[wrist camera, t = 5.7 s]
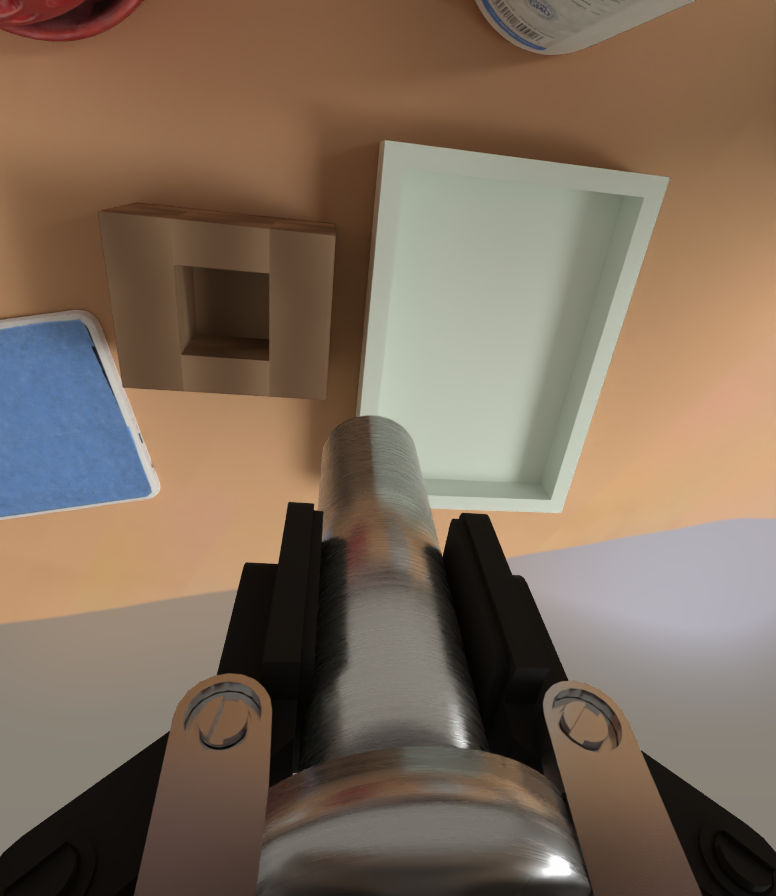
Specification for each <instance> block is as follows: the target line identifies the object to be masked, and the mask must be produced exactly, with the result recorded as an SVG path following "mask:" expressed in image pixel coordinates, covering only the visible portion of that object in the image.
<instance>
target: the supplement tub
mask: <svg viewBox="0 0 776 896" xmlns="http://www.w3.org/2000/svg"><path fill="white" fill-rule="evenodd" d="M694 1H697V0H475V2H476V4H477V5H478V7H479V9H480V11H481V12H482V14H483V15H484V17H485V18H486V20H487V21H488V22H489V23H490V25H491V26H492V27H493V28H494V29H495V30H496V31H497V32H498V33H499V34H500V35H501V36H502V37H504V38H505V39H507V40H508V41H509V42H511V43H512V44H514V45H516V46H518V47H520V48H522V49H525V50H527V51H530V52H534V53H538V54H544V55H561V54H568V53H572V52H576V51H579V50H582V49H585V48H587V47H590V46H593V45H595V44H598V43H600V42H602V41H605V40H607V39H609V38H611V37H613V36H616V35H618V34H620V33H623V32H625V31H627V30H630V29H632V28H634V27H637V26H639V25H641V24H644V23H646V22H648V21H651V20H653V19H655V18H657V17H660V16H662V15H664V14H667V13H669V12H671V11H673V10H676V9H678V8H680V7H683V6H685V5H687V4H690V3H692V2H694Z"/></svg>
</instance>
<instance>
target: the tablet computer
mask: <svg viewBox="0 0 776 896" xmlns="http://www.w3.org/2000/svg"><path fill="white" fill-rule="evenodd" d="M151 463H152V462H151V458H150V456H149V453H148V450H147V448H146V445H145V442H144V440H143V438H142V435H141V432H140V430H139V427H138V424H137V421H136V419H135V416H134V413H133V411H132V408H131V405H130V403H129V400H128V397H127V395H126V392H125V389H124V388H123V386H122V381H121V379H120V376H119V373H118V371H117V368H116V365H115V363H114V360H113V357H112V354H111V352H110V349H109V346H108V343H107V341H106V338H105V335H104V332H103V330H102V327H101V325H100V323H99V321H98V320H97V318H96V317H95V316H94V315H93V314H91V313H90V312H87V311H84V310H69V311H62V312H55V313H47V314H39V315H32V316H25V317H17V318H9V319H2V320H0V520H4V519H11V518H18V517H25V516H33V515H39V514H46V513H53V512H60V511H70V510H77V509H82V508H91V507H97V506H103V505H110V504H117V503H125V502H132V501H139V500H146V499H150V498H153V497H154V496H155V495H157V494H158V493H159V491H160V482H159V479H158V477H157V474H156V472H155V469H154V468H153V467H152V464H151Z"/></svg>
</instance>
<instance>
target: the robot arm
mask: <svg viewBox="0 0 776 896" xmlns="http://www.w3.org/2000/svg"><path fill="white" fill-rule="evenodd" d="M323 512H324V511H315V510H314V504H312V503H296V502H289V503H288V508H287V514H286V520H285V526H284V532H283V538H282V545H281V551H280V557H279V563H278V564H266V563H245V565H244V568H243V571H242V575H241V579H240V583H239V587H238V591H237V596H236V599H235V603H234V608H233V612H232V616H231V620H230V624H229V628H228V632H227V636H226V640H225V644H224V648H223V652H222V656H221V660H220V664H219V669H218V672H217V675H216V676H213V677H210V678H208V679H206V680H204V681H201V682H199V683H198V684H197V685H196V686H194V687H193V688H192V689H190V690H189V691H188V692H187V693H186V695H185V696H184V697H183V698H182V700H181V701H180V702H179V703H178V706H177V708H176V711H175V713H174V716H173V720H172V724H171V729H170V731H169V732H168V733H166V734H165V735H164V736H162V737H161V738H159V739H158V740H156V741H155V742H154V743H152V744H151V745H149V746H148V747H147V748H145V749H144V750H143V751H141V752H140V753H138V754H137V755H135V756H134V757H133V758H131V759H130V760H128V761H127V762H126V763H124V764H123V765H121V766H120V767H119V768H117V769H116V770H114V771H113V772H112V773H110V774H109V775H107V776H106V777H105V778H103V779H102V780H101V781H99V782H98V783H96V784H95V785H93V786H92V787H91V788H89V789H88V790H87V791H85V792H83V793H82V794H81V795H79V796H78V797H76V798H75V799H74V800H72V801H71V802H69V803H68V804H67V805H65V806H64V807H62V808H61V809H60V810H58V811H57V812H55V813H54V814H53V815H51V816H50V817H48V818H47V819H46V820H44V821H43V822H41V823H40V824H39V825H37V826H36V827H34V828H33V829H32V830H30V831H29V832H27V833H26V834H25V835H23V836H22V837H21V838H20V839H19V840H17V841H16V842H15V843H14V844H13V845H12V846H10V847H9V848H8V849H7V850H6V851H5V852H3V854H2V855H1V856H0V896H256V889H257V881H258V872H259V864H260V856H261V847H262V839H263V831H264V822H265V814H266V806H267V797H268V789H269V788H271V787H273V786H274V785H276V784H277V783H279V782H281V781H282V780H284V779H286V778H288V777H290V776H292V775H293V773H298V764H299V751H300V738H301V726H302V721H303V718H304V715H305V713H306V711H307V709H308V708H309V706H310V705H311V697H312V686H313V674H314V662H315V647H316V630H317V613H318V597H319V580H320V563H321V546H322V529H323ZM443 562H444V566H445V570H446V574H447V578H448V583H449V587H450V591H451V595H452V599H453V603H454V607H455V611H456V615H457V620H458V624H459V628H460V632H461V636H462V640H463V644H464V648H465V653H466V657H467V661H468V665H469V669H470V673H471V677H472V681H473V685H474V690H475V694H476V698H477V702H478V706H479V710H480V714H481V718H482V723H483V727H484V731H485V735H486V739H487V743H488V747H489V751H490V753H492V754H497V755H501V756H504V757H507V758H509V759H512V760H515V761H518V762H521V763H523V764H525V765H527V766H529V767H531V768H533V769H535V770H536V771H538V772H539V773H541V774H542V775H544V776H545V777H546V778H548V779H549V780H550V781H551V782H552V783H553V784H554V785H555V786H556V787H557V788H558V789H559V790H560V792H561V794H562V797H563V800H564V803H565V806H566V809H567V813H568V816H569V819H570V822H571V825H572V828H573V831H574V834H575V838H576V841H577V844H578V847H579V850H580V853H581V856H582V859H583V863H584V866H585V869H586V872H587V875H588V879H589V882H590V885H591V888H592V890H591V891H590V893H589V894H588V896H776V852H775V851H774V850H773V848H772V847H771V846H770V845H769V844H768V843H767V842H766V840H765V839H764V838H763V837H762V836H760V835H759V834H758V833H757V832H755V831H754V830H753V829H752V828H750V827H749V826H748V825H747V824H746V823H744V822H743V821H741V820H740V819H738V818H737V817H736V816H734V815H733V814H731V813H730V812H728V811H727V810H726V809H724V808H723V807H721V806H720V805H718V804H717V803H716V802H714V801H713V800H711V799H710V798H708V797H707V796H706V795H704V794H703V793H701V792H700V791H698V790H697V789H696V788H694V787H692V786H691V785H690V784H688V783H687V782H685V781H684V780H683V779H681V778H680V777H678V776H677V775H676V774H674V773H672V772H671V771H670V770H668V769H667V768H666V767H664V766H663V765H661V764H660V763H658V762H657V761H656V760H654V759H652V758H651V757H650V756H648V755H647V754H646V753H644V752H643V751H641V750H640V748H639V745H638V743H637V740H636V738H635V736H634V733H633V731H632V729H631V726H630V724H629V722H628V720H627V718H626V717H625V715H624V713H623V711H622V710H621V709H620V708H619V706H618V705H617V704H616V703H615V702H614V701H613V700H612V699H611V698H610V697H608V696H607V695H606V694H604V693H603V692H602V691H600V690H599V689H596V688H595V687H592V686H590V685H588V684H586V683H581V682H577V681H568V678H567V676H566V674H565V672H564V669H563V667H562V664H561V662H560V660H559V657H558V655H557V653H556V651H555V648H554V645H553V644H552V641H551V638H550V636H549V634H548V631H547V629H546V627H545V624H544V622H543V620H542V617H541V615H540V613H539V610H538V608H537V606H536V603H535V601H534V599H533V596H532V594H531V592H530V589H529V587H528V584H527V582H526V581H525V579H524V578H523V577H522V576H520V575H512V573H511V571H510V568H509V566H508V563H507V561H506V558H505V556H504V553H503V551H502V548H501V546H500V543H499V541H498V538H497V536H496V533H495V531H494V528H493V526H492V523H491V521H490V518H489V516H488V515H486V514H473V513H462V514H461V515H460V517H459V519H452V520H451V523H450V527H449V531H448V536H447V540H446V544H445V549H444V553H443Z"/></svg>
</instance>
